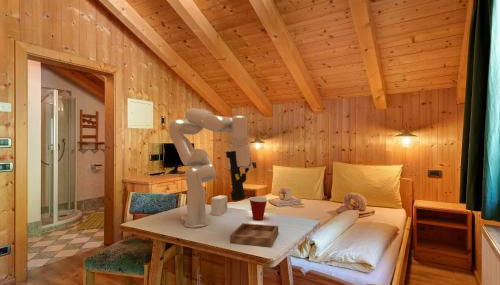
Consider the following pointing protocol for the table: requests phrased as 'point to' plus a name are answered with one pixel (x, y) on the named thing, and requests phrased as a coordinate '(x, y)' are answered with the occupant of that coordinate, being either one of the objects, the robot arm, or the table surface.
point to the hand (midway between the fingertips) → (240, 181)
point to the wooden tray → (254, 235)
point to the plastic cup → (258, 207)
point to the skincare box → (218, 205)
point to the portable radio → (235, 178)
